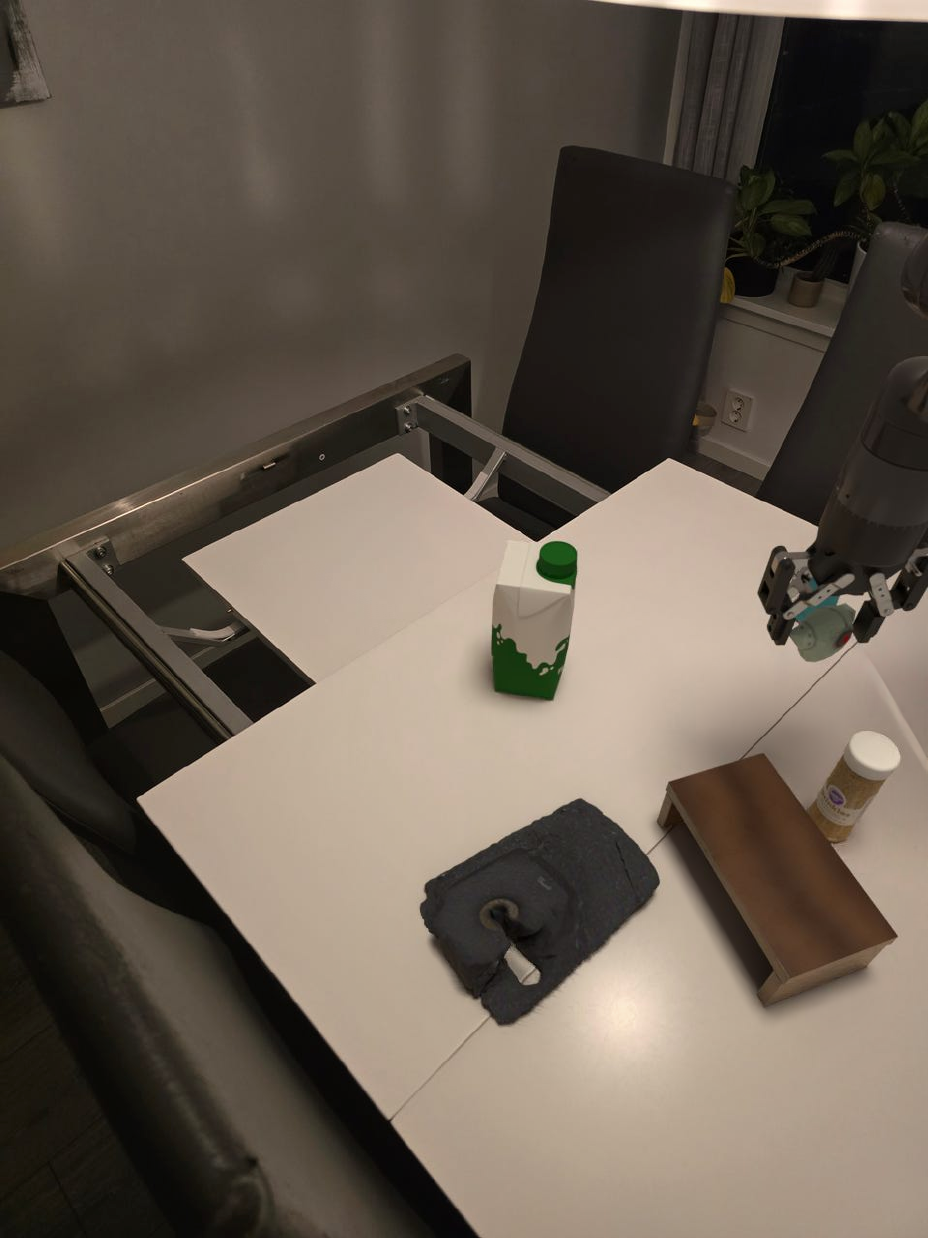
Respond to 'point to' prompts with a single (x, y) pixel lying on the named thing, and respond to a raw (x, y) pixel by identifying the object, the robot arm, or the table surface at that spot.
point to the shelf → (779, 874)
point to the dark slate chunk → (537, 902)
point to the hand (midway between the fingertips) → (817, 637)
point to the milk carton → (533, 617)
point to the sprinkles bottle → (854, 783)
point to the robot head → (823, 632)
